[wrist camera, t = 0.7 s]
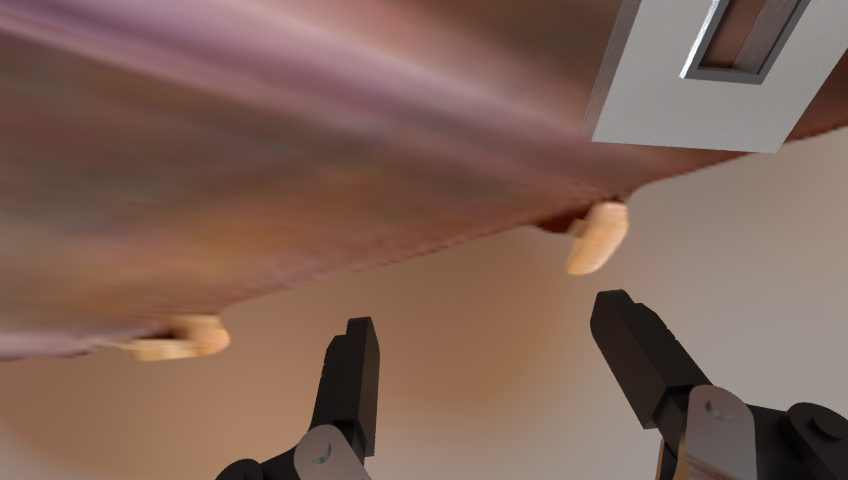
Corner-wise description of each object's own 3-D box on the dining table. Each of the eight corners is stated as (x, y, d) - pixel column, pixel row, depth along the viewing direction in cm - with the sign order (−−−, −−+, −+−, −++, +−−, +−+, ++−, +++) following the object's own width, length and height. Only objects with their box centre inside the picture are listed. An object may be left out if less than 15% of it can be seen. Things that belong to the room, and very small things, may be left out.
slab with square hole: (669, -143, 25) (701, -159, 23) (909, -108, 27) (965, -120, 24) (578, 131, 37) (592, 142, 34) (751, 143, 38) (778, 154, 36)
